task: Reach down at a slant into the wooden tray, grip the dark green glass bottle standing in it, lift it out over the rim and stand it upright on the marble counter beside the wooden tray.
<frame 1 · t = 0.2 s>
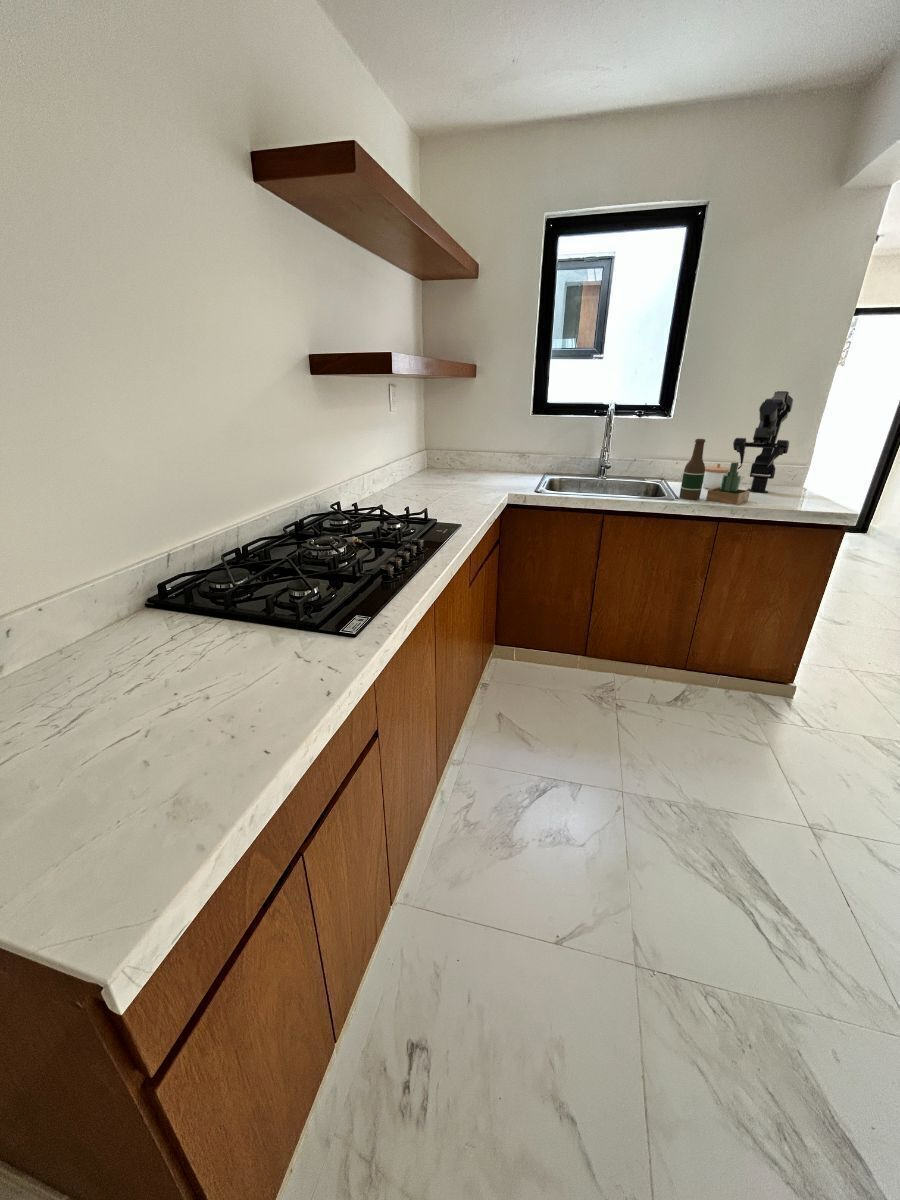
hand: (754, 465, 196), 15 cm above the counter, tool tilted 35°, fingers open, 9 cm apart
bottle: (726, 500, 203), resting on wooden tray
beer bottle: (688, 499, 207), on the counter
wooden tray: (726, 501, 204), on the counter
lidded bowl: (713, 488, 231), on the counter
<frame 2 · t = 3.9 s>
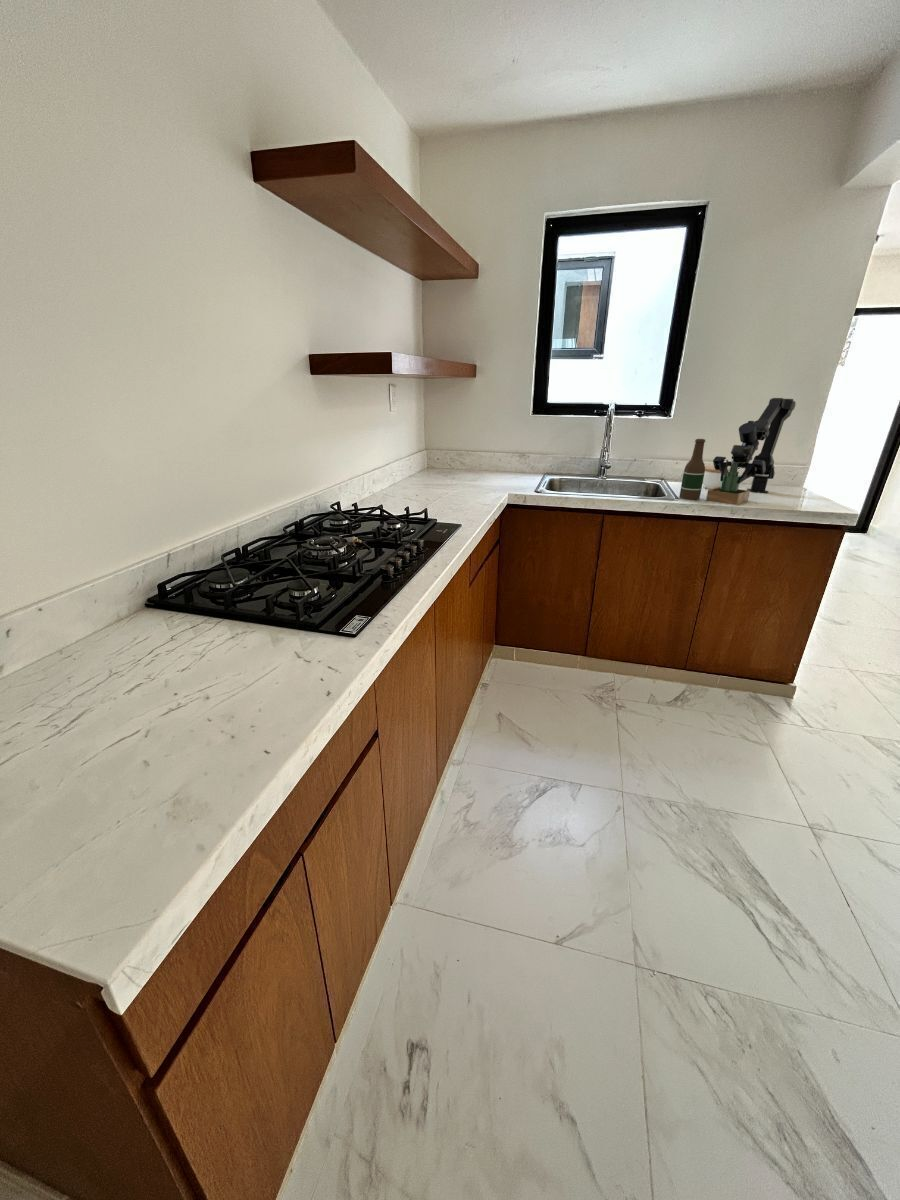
hand: (729, 481, 200), 8 cm above the counter, tool tilted 45°, fingers closed on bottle, 6 cm apart
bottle: (726, 500, 203), point 1 cm above the counter, touching wooden tray, gripper
everything else where it was.
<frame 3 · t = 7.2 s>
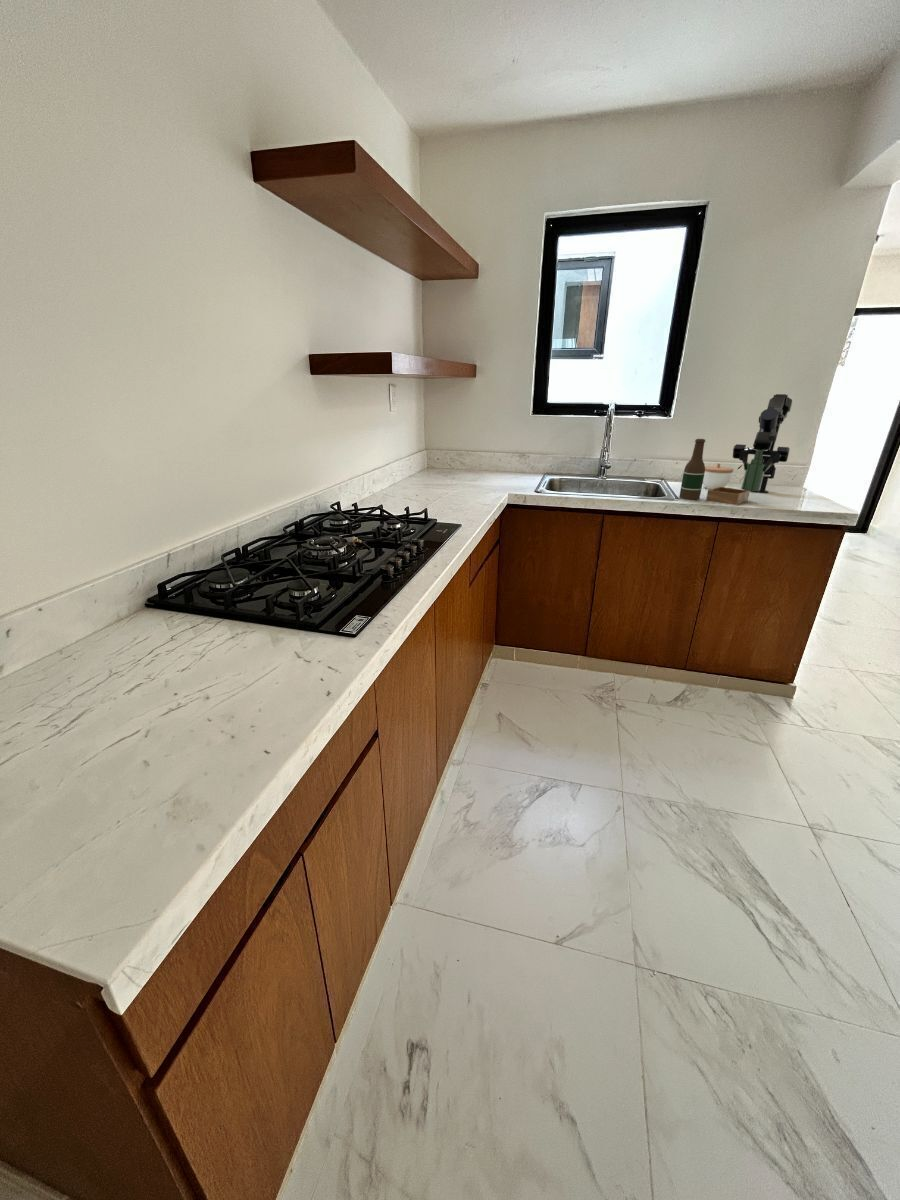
hand: (754, 470, 193), 13 cm above the counter, tool tilted 45°, fingers closed on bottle, 6 cm apart
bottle: (750, 489, 197), point 6 cm above the counter, touching gripper
everything else where it was.
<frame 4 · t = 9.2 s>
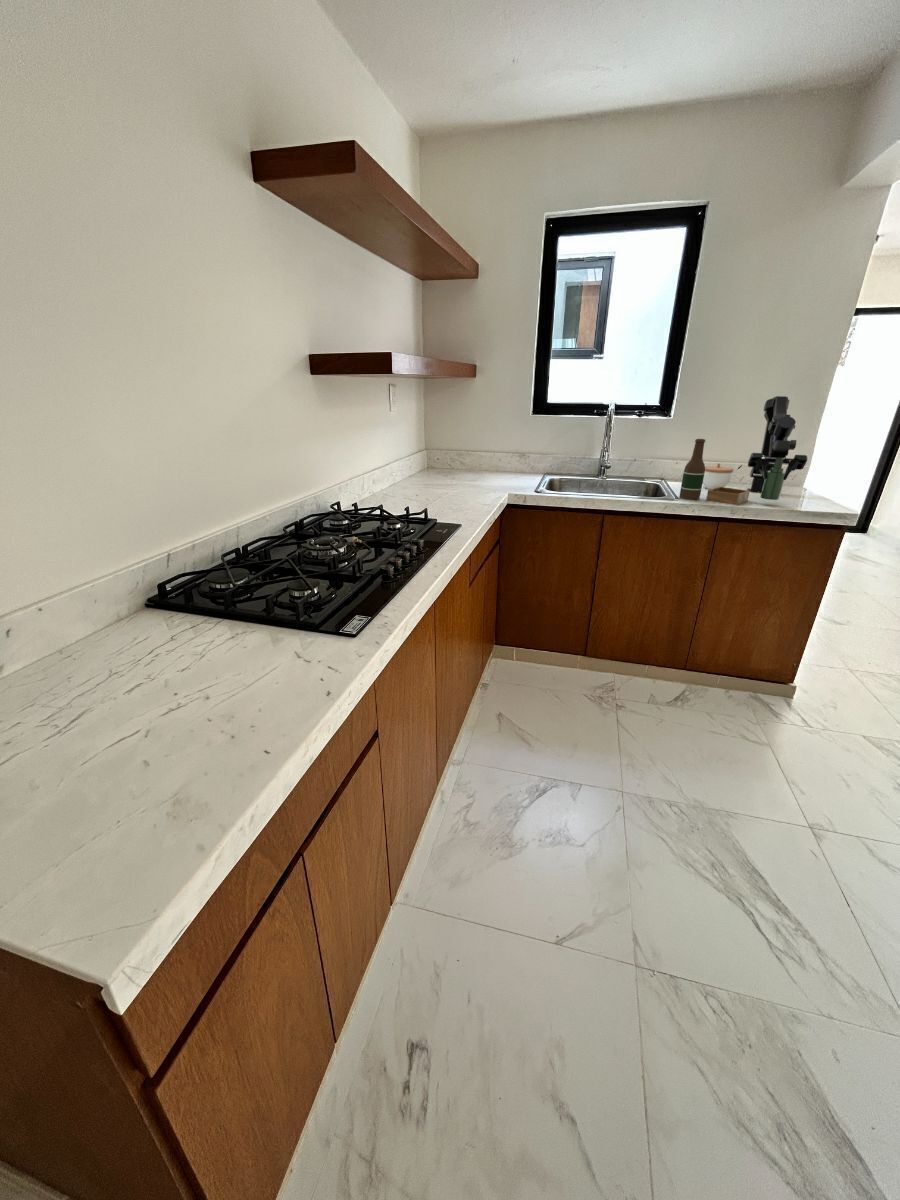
hand: (775, 478, 191), 11 cm above the counter, tool tilted 45°, fingers closed on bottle, 6 cm apart
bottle: (769, 498, 195), point 3 cm above the counter, touching gripper
everything else where it was.
when the fingers open (8 cm above the counter, at t = 10.7 s): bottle stays where it is, on the counter.
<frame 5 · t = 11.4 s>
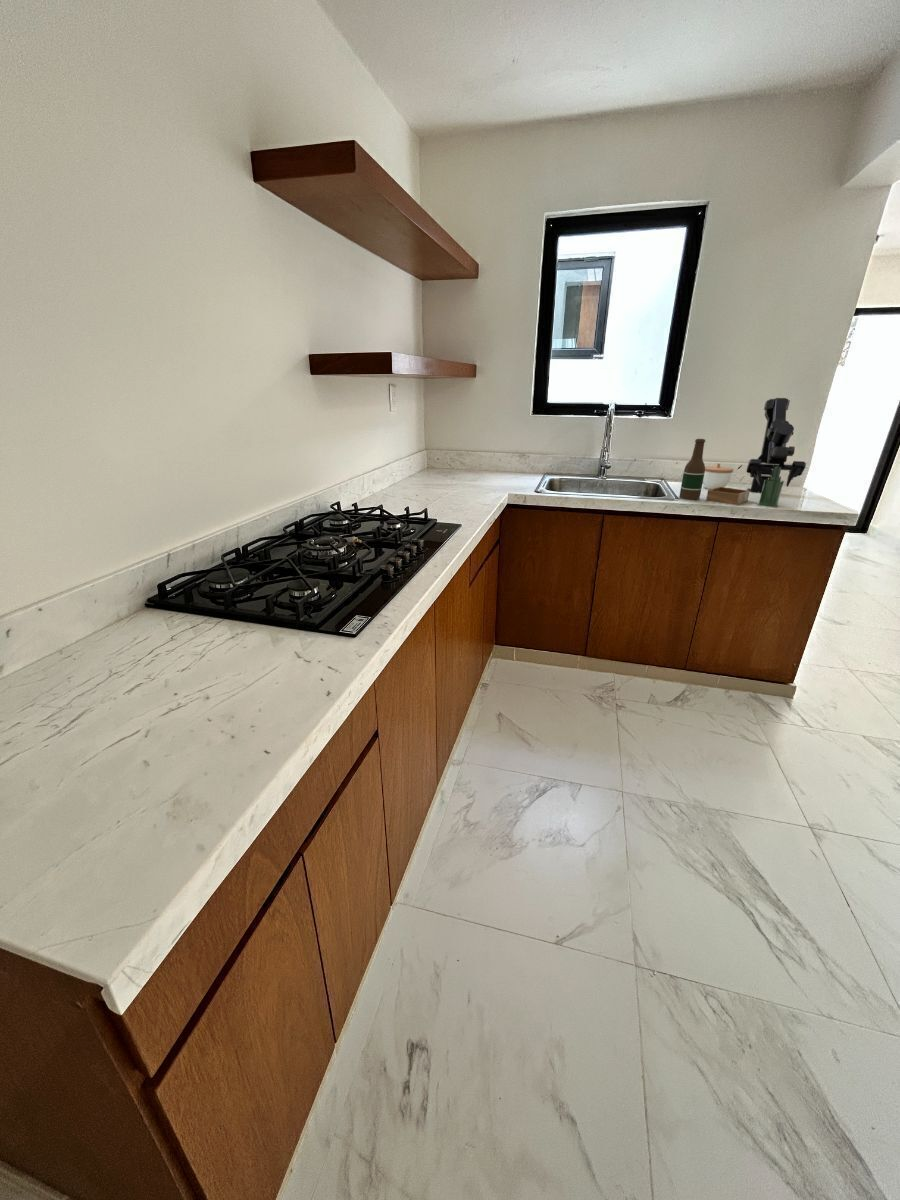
hand: (773, 485, 192), 8 cm above the counter, tool tilted 45°, fingers open, 9 cm apart
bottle: (767, 506, 196), on the counter
everything else where it was.
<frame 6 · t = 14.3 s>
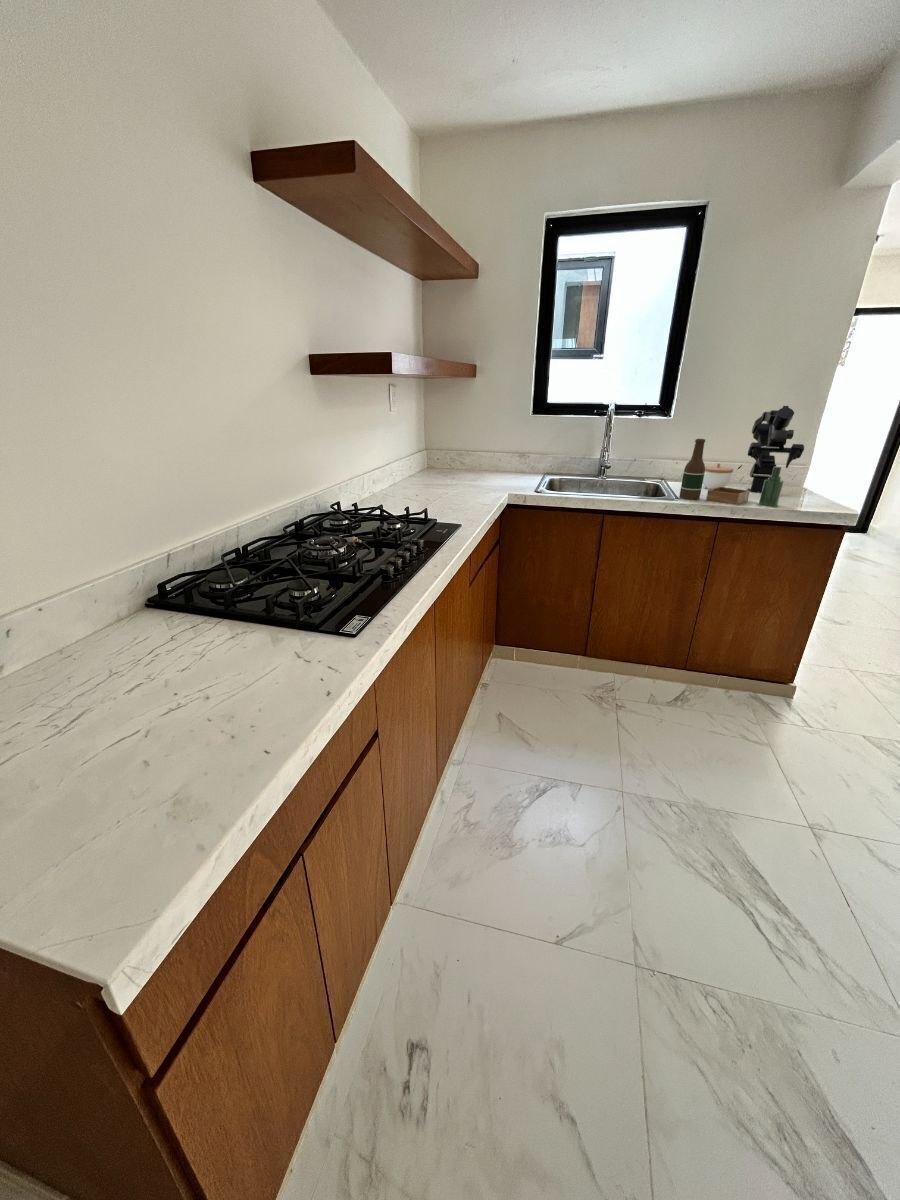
hand: (773, 467, 200), 14 cm above the counter, tool tilted 45°, fingers open, 9 cm apart
nothing on the counter moved.
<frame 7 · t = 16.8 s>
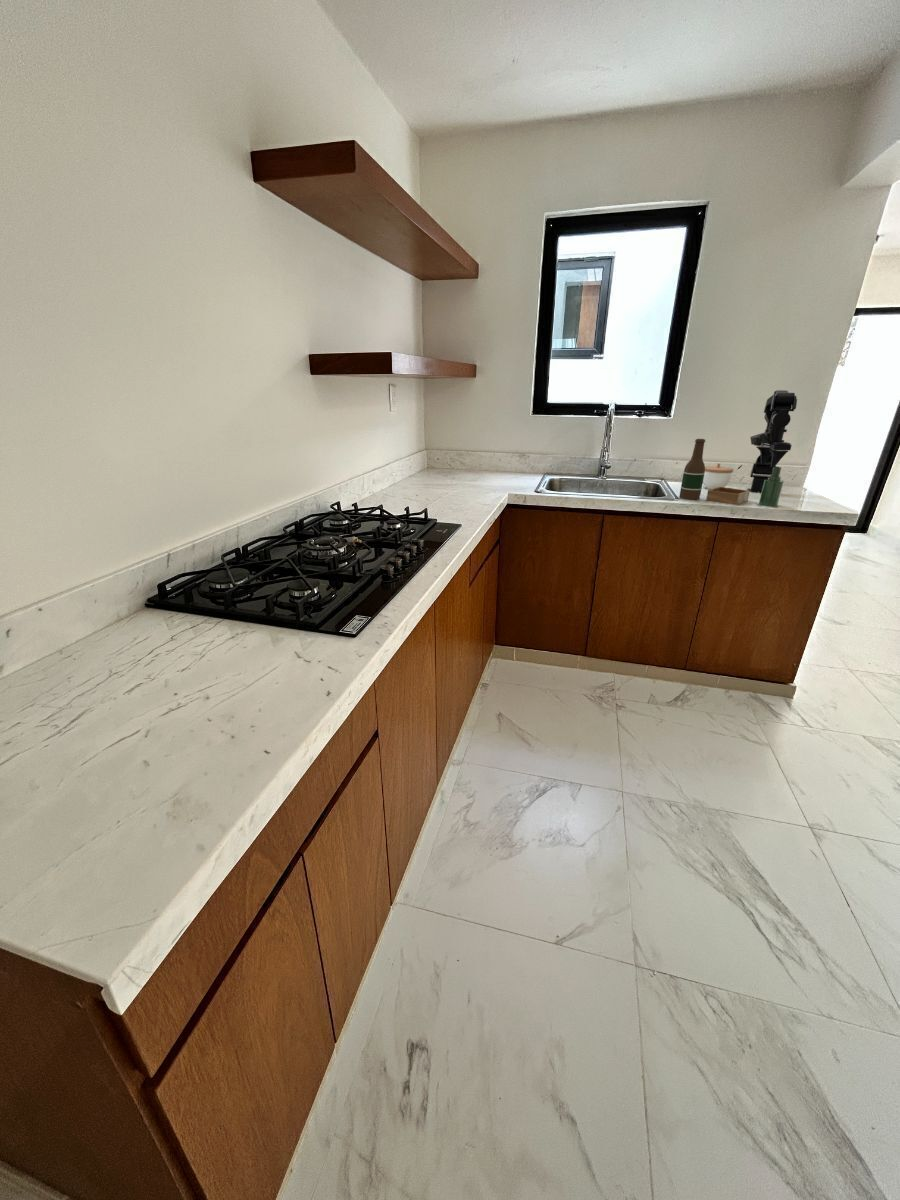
hand: (767, 466, 206), 13 cm above the counter, tool pointing down, fingers open, 9 cm apart
nothing on the counter moved.
at the end: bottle inside the target area (0.0 cm from its centre), on the counter; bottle tilted 0°; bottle touching counter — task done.
